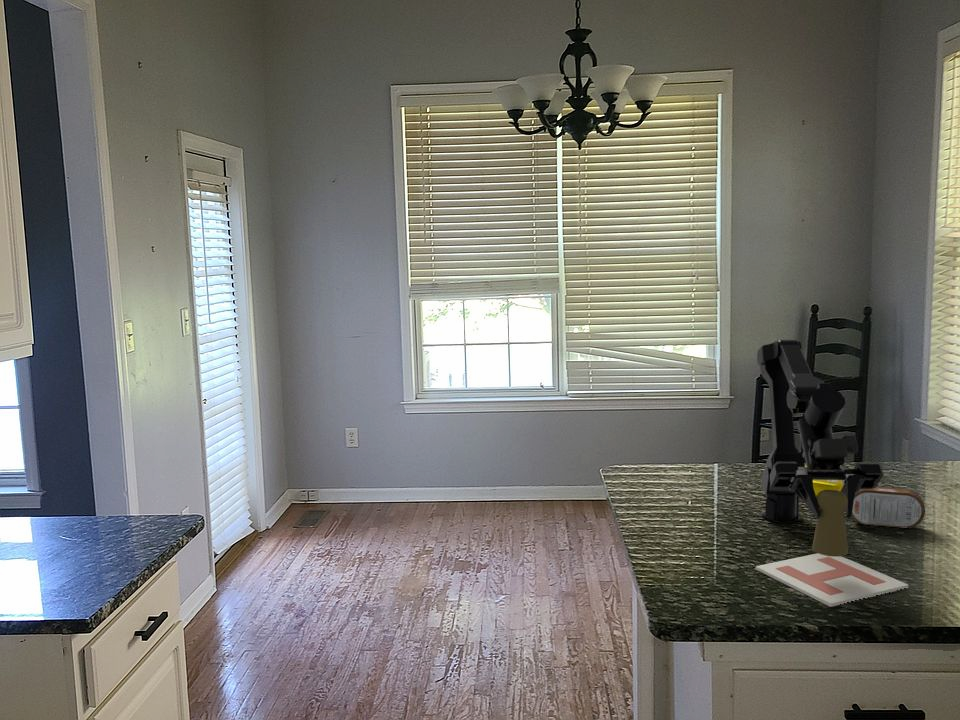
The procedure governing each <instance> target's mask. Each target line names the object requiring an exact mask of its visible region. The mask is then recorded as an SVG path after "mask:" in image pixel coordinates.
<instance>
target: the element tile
mask: <svg viewBox="0 0 960 720" xmlns="http://www.w3.org/2000/svg"><path fill="white" fill-rule="evenodd" d="M805 467H806V468H807V466H806V464H805ZM843 486H844V485H843V481H842V480H813V488H814V491H815V495H816V499H817V495H818V493H819V492H820V491H823V490H837V491H841V489H842V487H843Z"/></svg>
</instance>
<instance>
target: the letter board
mask: <svg viewBox="0 0 960 720" xmlns="http://www.w3.org/2000/svg"><path fill="white" fill-rule="evenodd" d="M755 570H756V571H758V572H760V573H763V574H764V575H766V576H768V577H770V578H772V579H774V580H776V581H778V582H780V583H782V584H783V585H785V586H788V587H790V588H791V589H794V590H796V591H798V592H800V593H802V594H804V595H806V596H807V597H810V598H811V599H814V600H816V601H817V602H820V603H821V604H824V605H825V606H828V607H830V608H831V607H836V606H840V604H841V605H845V604H848V603H847V602H849V603H852V602H851V601H853V602H856V601H855V600H857V601H860V600H859V599H861V600H864V599H863V598H865V599H869V598H872V597H877V596H876V595H878V596H881V594H882V595H885V593H886V594H888V593H889V592H890V593H893V592H897V590H898V591H901V590H900V589H902V590H905V589H904V588H906V589H909V584H908V583H905V582H903V581H900V580H898V579H896V578H893V577H891V576H889V575H886V574H884V573H882V572H879V571H877V570H874V569H872V568H870V567H868V566H865V565H862V564H860V563H858V562H856V561H853V560H851V559H848V558H846V557H844V556H837V557H834V556H826V555H822V554H819V553H813V554H808V555H804V556H803V555H802V556H799V557H793V558H789V559H785V560H784V559H783V560H779V561H775V562H770V563H766V564H760V565H755ZM868 597H869V598H868ZM844 603H845V604H844Z"/></svg>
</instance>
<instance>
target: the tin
mask: <svg viewBox="0 0 960 720" xmlns="http://www.w3.org/2000/svg"><path fill="white" fill-rule="evenodd" d="M925 514H926V507H925V505H924V501H923V499H922V498H921V496H920V495H919V494H918V493H917V492H916V491H914V490H911V489H908V488H899V487H898V488H897V487H890V486H889V487H887V486H878V485H877V486H876V488H874V489H859V491H858V492H856V493H855V496H854V503H853V509H852V516H851V518H852V519H853V520H854V521H855V522H857V523H858V524H860V525H862V524H863V526H867V525H871V526H870V527H878V526H886V527H885V528H889V527H907V528H909V529H913V528H915V527H917V526H918V525H919V524H921V523H922V521H923V520H924V517H925ZM872 525H873V526H872ZM887 526H889V527H887Z"/></svg>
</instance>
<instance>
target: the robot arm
mask: <svg viewBox="0 0 960 720" xmlns="http://www.w3.org/2000/svg"><path fill="white" fill-rule="evenodd" d="M802 350H803V349H802V343H801V341H800V340H798V339H778V340H774V341H773V342H771V343H769V344H768V343H767V344H763V345H762V346H761V347H760V348H758V350H757V351H756V352H757V353H756V354H757V355H756V360H757V361H756V362H757V365H758V366H759V369H760V375H761V376H762V377H763V379H764V380H765V381H766V383H767V384H768V389H769V391H768V392H769V405H770V407H769V408H770V417H771V420H770V421H771V433H772V434H771V435H772V448H773V449H772V451H771V452H770V454H769V455H768V457H767V459H766V466H765V468H764V470H763V473H762V475H761V478H760V485H761V486H760V487H761V490H762V492H764V493H765V495H766V498H765V509H764V510H765V512H764V513H761V517H762V518H765V519H767V520H769V521H772V522H774V523H777V524H780V525H786V524H791V523H796V522H802V521H804V519H805V518H804V517H802V516H800V515H799V509H800V507H799V506H800V505H799V503H800V499H801V501H803V502H804V504H805V505H806V506H807V507H808V509H809V510H810V512H811V513H812V514H813V515H814V517H815V518H816V519H818V518H819V517H820V511H819V506H818V502H817V498H816V495H815V491H814V488H813V480H842V481H843V485H844V486H843V487H842V489H841V492H843V493H844V494H846V496H847V499H848V506H847V508H846V509H845V510H844V514H845V517H846V518H847V519H848V520H850V519H851V518H852V517H851V516H852V509H853V503H854V496H855V493H856V492H858V491H859V489H874V488H876V486H877V487H878V485H879V483H880V481H881V479H882V478H883V477H884V470H883V467H882V466H881V464H879V462H876V461H873V462H871V461H866V462H865V461H857V462H856V464H855V465H854V467H853V469H852V468H851V469H850V468H849V469H848V468H846V469H845V468H844V469H843V468H841V466H844V464H845V462H846V461H845V458H849V455H854V454H857V453H858V452H859V446H858V441H857V438H856V435H844V436H842V438H835V437H834V433H833V429H832V428H833V427H834V426H836V424H837V422H838V420H839V418H840V416H841V414H842V411H843V409H844V407H845V405H846V399H845V397H844V396H843V394H842V393H841V392H840V391H838V389H835V388H833V387H831V384H830V382H824V381H823V380H822V379H821V378H818V377H816V376H814V375H813V373H812V371H811V369H810V367H809V365H808V363H807V360H806V357H805V355H804V353H803V351H802ZM794 415H801V417H800V418H799V419H798V420H797V425H798V433H799V434H800V440H801V446H802V451H803V452H800V451H799V450H798V449H797V446H796V443H795V442H796V441H795V440H796V439H795V437H796V436H795V427H794V426H795V424H794ZM805 465H806V466H807V468H806V467H805Z"/></svg>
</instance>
